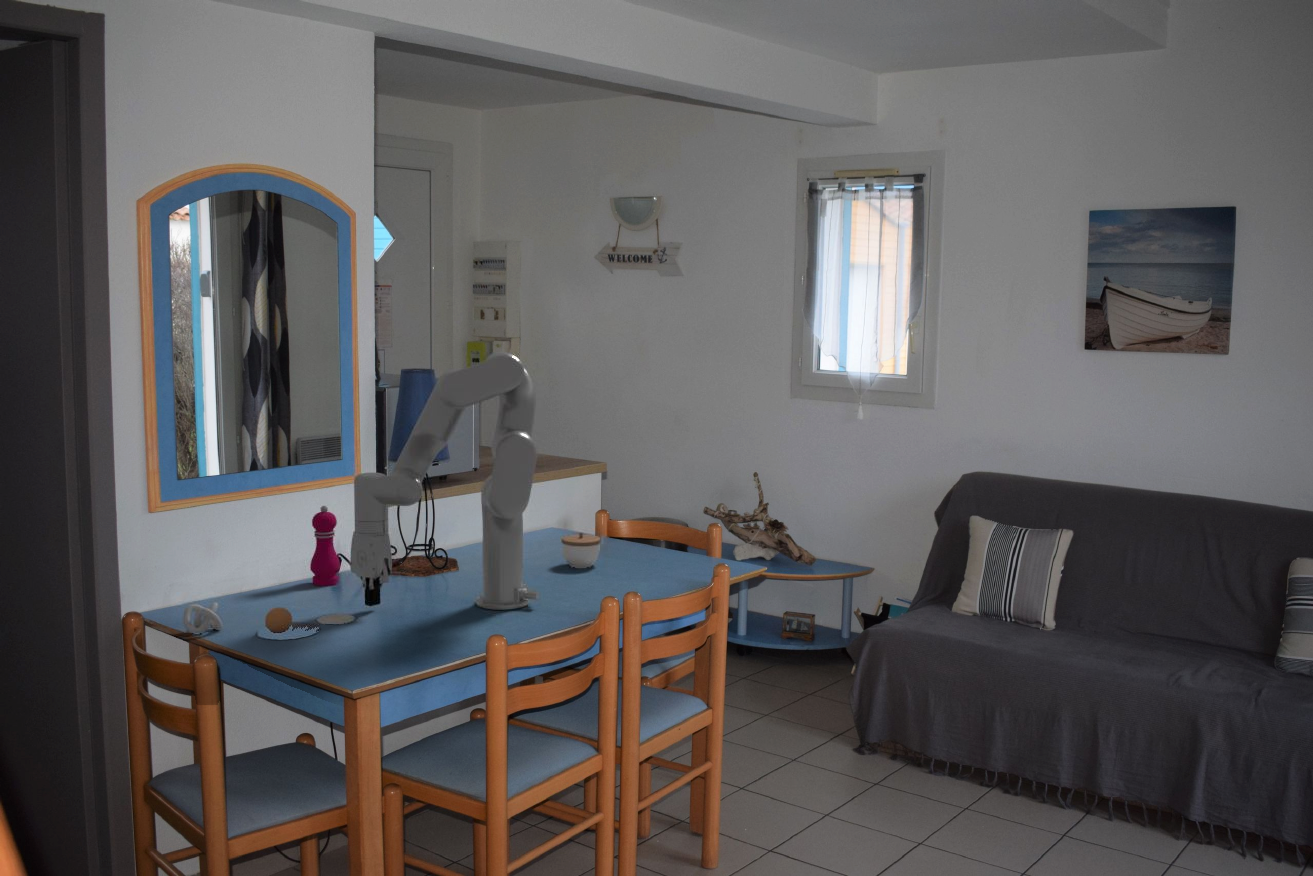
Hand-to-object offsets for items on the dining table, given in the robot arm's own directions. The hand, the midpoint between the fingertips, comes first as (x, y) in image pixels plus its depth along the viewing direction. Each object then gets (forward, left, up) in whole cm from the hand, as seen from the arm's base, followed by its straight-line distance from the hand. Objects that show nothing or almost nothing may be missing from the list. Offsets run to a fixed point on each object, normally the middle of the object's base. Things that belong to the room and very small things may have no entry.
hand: (372, 604), depth 252 cm
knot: (+27, +24, -2) cm, 36 cm away
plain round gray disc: (+4, +9, -2) cm, 10 cm away
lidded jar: (-32, -58, -2) cm, 66 cm away
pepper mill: (+24, -20, -2) cm, 31 cm away
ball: (+11, +21, +1) cm, 24 cm away
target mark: (+9, +20, -2) cm, 22 cm away
